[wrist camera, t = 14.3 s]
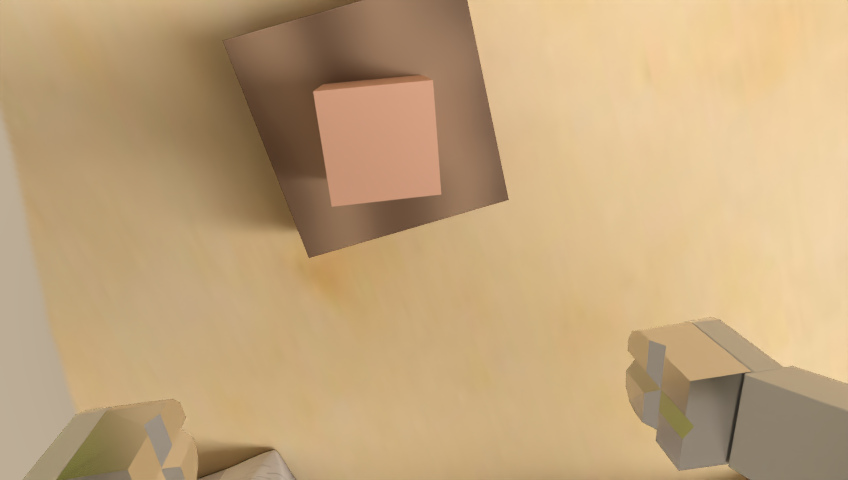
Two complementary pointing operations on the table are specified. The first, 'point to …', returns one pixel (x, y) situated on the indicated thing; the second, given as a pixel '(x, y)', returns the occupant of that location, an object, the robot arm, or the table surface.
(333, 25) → the walnut block
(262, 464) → the juice carton
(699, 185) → the table surface
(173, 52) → the table surface
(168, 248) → the table surface
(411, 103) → the terracotta cube
